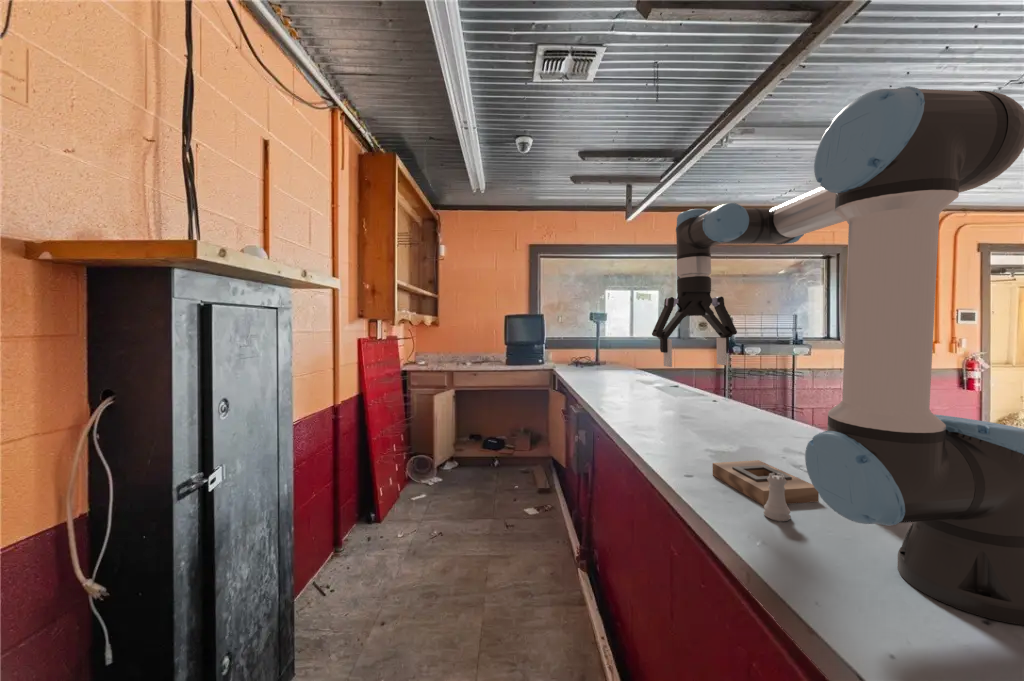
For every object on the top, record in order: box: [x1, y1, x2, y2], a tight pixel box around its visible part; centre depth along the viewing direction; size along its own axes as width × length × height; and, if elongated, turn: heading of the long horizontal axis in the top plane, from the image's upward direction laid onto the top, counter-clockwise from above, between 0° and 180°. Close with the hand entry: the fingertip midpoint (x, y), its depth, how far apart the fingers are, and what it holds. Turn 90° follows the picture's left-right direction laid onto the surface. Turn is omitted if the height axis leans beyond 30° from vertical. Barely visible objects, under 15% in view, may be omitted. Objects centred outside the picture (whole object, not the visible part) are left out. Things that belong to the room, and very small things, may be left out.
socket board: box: [712, 459, 820, 506], centre depth 96 cm, size 18×12×4 cm, turn 6°
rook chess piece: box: [763, 473, 792, 522], centre depth 81 cm, size 4×4×8 cm
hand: (694, 365), depth 103 cm, fingers open, 13 cm apart
